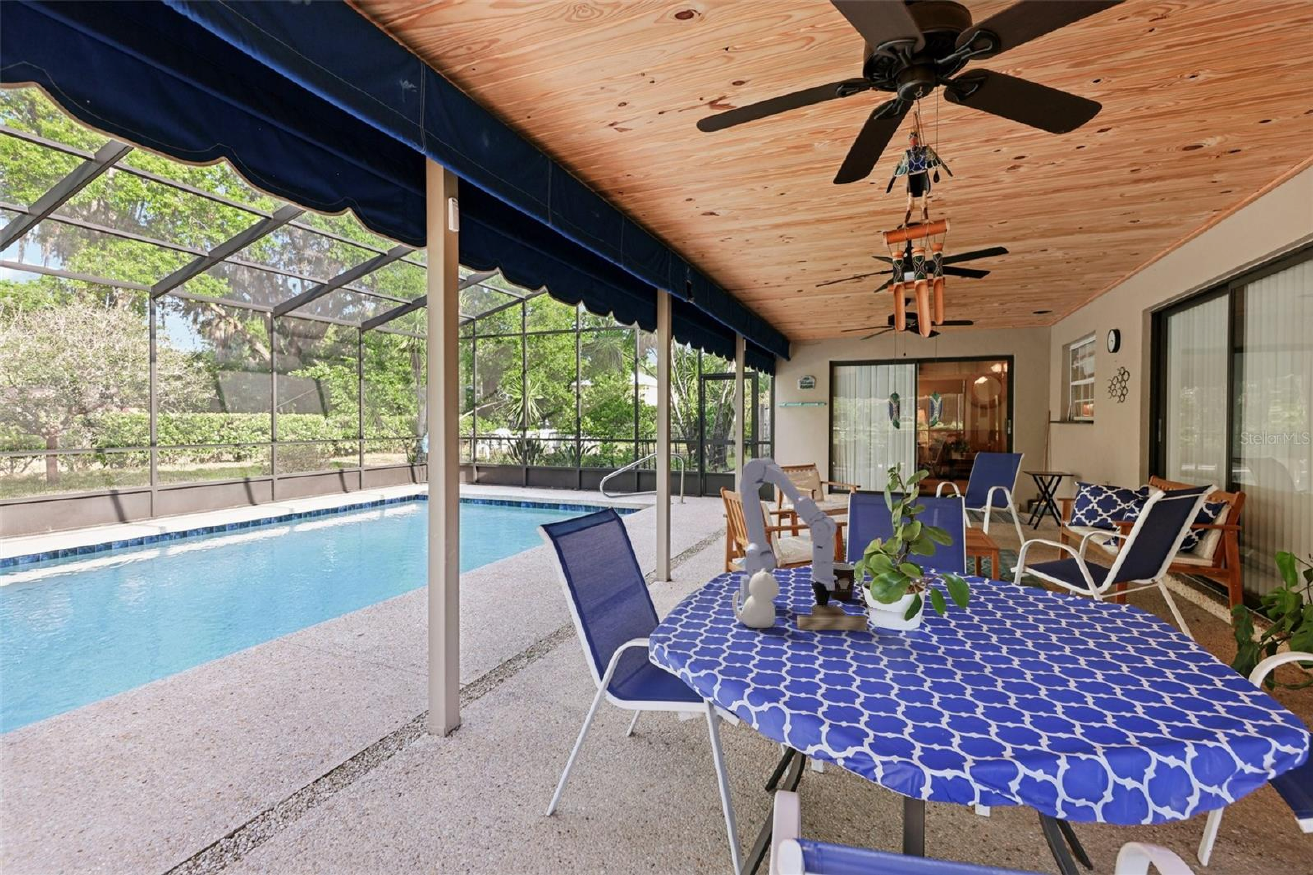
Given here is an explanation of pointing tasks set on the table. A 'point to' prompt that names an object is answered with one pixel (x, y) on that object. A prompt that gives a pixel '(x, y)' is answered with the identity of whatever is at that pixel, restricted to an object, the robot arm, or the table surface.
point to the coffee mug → (843, 582)
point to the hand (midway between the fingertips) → (821, 609)
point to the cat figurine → (758, 601)
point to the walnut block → (827, 610)
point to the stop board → (831, 622)
